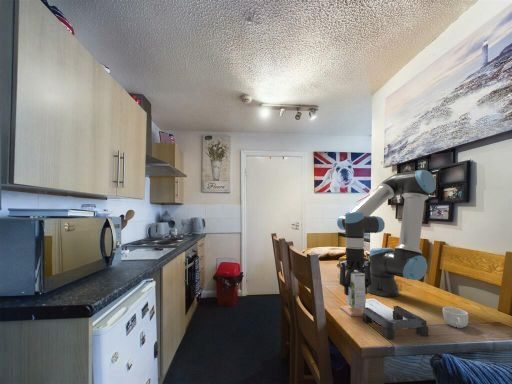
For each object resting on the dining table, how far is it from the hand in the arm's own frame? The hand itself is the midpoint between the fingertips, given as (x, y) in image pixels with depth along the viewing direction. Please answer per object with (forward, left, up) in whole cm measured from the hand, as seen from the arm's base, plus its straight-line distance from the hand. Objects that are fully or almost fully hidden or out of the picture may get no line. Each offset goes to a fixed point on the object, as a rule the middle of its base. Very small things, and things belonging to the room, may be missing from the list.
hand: (355, 302), depth 108 cm
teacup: (-30, +18, -4) cm, 35 cm away
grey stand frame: (-5, +16, -4) cm, 17 cm away
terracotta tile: (0, 0, -4) cm, 4 cm away
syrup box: (0, 0, -2) cm, 2 cm away
